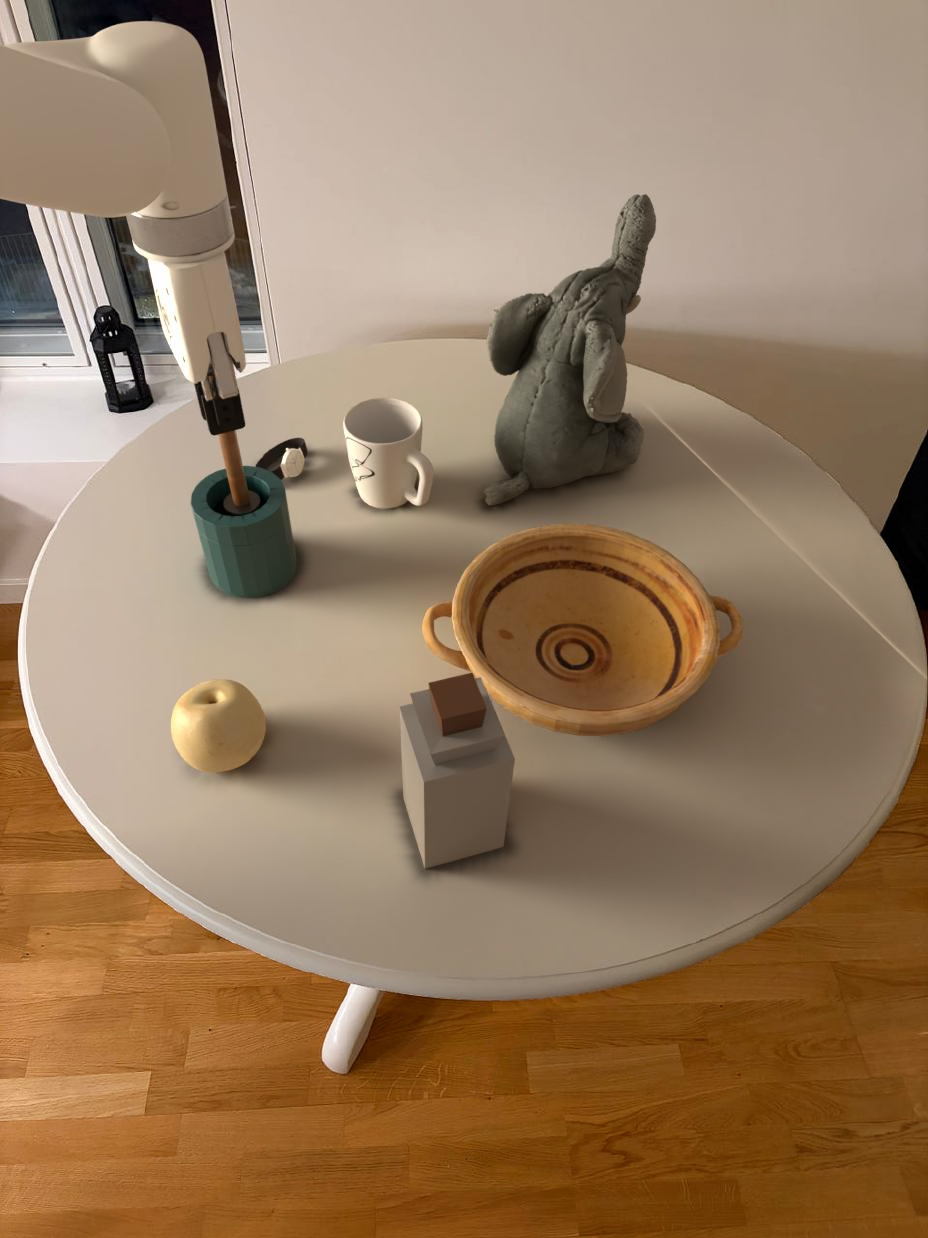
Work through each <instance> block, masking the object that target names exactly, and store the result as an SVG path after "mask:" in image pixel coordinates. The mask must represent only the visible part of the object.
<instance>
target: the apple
mask: <svg viewBox="0 0 928 1238" xmlns="http://www.w3.org/2000/svg"><path fill="white" fill-rule="evenodd" d="M266 729H267V720H266V716H265V712H264V709H263V707H262V705H261V703H260V702H259V700H258V699H257V697H256V696H255V695H254V693H252V692H251V691H250V689H248V687H246V686H245V685H244V684H242V683H241V682H238V681H235V680H231V679H225V678H219V679H209V680H206V681H204V682H200V683H199V684H197V685H195V686H192V688H190V689H189V690H187V691H186V692H185V693H184V694H182V695H181V697H180V698H179V699H178V700H177V702H176V703H175V705H174V707H173V710H172V714H171V719H170V734H171V738H172V742H173V744H174V747H175V749H176V750H177V752H178V754H179V755H180V756H181V758H182V760H184V761H185V762H186V763H187V764H188V765H189V766H191V767H192V768H194V769H196V770H198V771H201V772H204V773H222V772H228V771H232V770H234V769H237V768H240V767H242V766H244V765H245V764H247V763H248V762H249V761H250V760H252V759H253V758H254V756H256V754H257V753H258V751H259V750H260V748H261V746H262V745H263V742H264V739H265V737H266V732H267V731H266Z"/></svg>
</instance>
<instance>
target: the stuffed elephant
mask: <svg viewBox="0 0 928 1238" xmlns="http://www.w3.org/2000/svg"><path fill="white" fill-rule="evenodd" d="M656 229H657V215H656V213H655V208H654V204H653V203H652V200H651V197H649V195H648V194H647V193H645V194H644V193H643V194H641V195H640V194H633V195H632V196H630V198H628V200H627V201H626V202H625V204H624V205H623V207H622V208H621V209H620V212H619V213H618V216H617V219H616V221H615V229H614V238H613V241H612V247H611V256H610V257H609V258H607V259H605V261H603V262H602V263H601V264H600V265H599V266H596V267H595V266H594V267H590V268H585V269H584V270H583V269H581V270H578V271H575V272H573V273H571V274H569V275H568V276H566V277H564V278H563V279H562V280H561V281H560V282H559V283H557V285H556V286H555V287H553V289H552V290H551V292H549V293H548V294H547V295H546V294H545V293H543V292H542V293H541V292H540V293H539V292H538V293H537V292H534V293H531V292H530V293H529V292H527V293H525V294H524V295H521V296H517V297H515V298H512V299H511V300H508V301H506V302H505V303H504V304H503V305H502V306H500V307H499V309H498V310H495V312H494V313H495V314H494V315H493V317H492V319H491V322H490V324H489V328H488V334H487V335H486V350H487V356H488V359H489V361H490V365H491V367H492V369H493V371H494V372H495V373H497V374H499V375H500V376H503V377H507V376H512V375H514V374H516V373H517V374H516V376H515V378H514V380H513V381H512V383H511V386H510V388H509V390H508V393H507V394H506V396H505V398H504V400H503V401H504V402H503V404H502V406H501V408H500V410H499V411H498V414H497V417H496V421H495V428H494V440H493V441H494V448H495V452H496V455H497V458H498V460H499V461H500V464H501V466H502V467H503V470H504V471H505V474H507V476H508V477H509V479H500V480H497V481H495V482H493V483H491V484H490V485H488V486H486V487H485V488H484V490H483V494H484V495H485V500H484V501H485V503H486V504H487V505H488V506H496V505H500V504H503V503H505V502H507V501H510V500H512V499H515V498H516V497H518V496H520V495H521V494H523V493H524V492H525V491H526V490H528V489H529V488H531V489H548V488H549V489H550V488H556V487H559V486H562V485H566V484H569V483H572V482H575V481H577V480H580V479H582V478H584V477H591V476H598V475H605V474H613V473H616V472H618V471H622V470H624V469H627V468H628V467H630V466H632V465H633V464H635V463H637V462H638V460H639V456H640V455H641V452H642V445H643V444H644V440H645V439H644V438H645V431H644V430H645V428H644V427H643V426H642V424H641V423H640V422H639V420H638V419H637V418H635V417H634V416H633V415H632V413H627V412H623V408H624V407H625V401H626V395H627V389H628V388H627V386H628V368H627V362H626V361H627V360H626V356H625V355H626V354H625V351H624V348H623V343H624V341H625V338H626V337H625V336H626V327H627V326H626V323H627V322H626V321H627V315H628V314H630V313H633V311H634V310H635V309H637V308H638V306H639V305H640V303H641V301H642V298H641V295H639V294H638V291H639V289H640V288H641V287H640V286H641V284H642V277H643V273H644V268H645V266H646V260H647V259H646V257H647V253H648V250H649V245H650V243H651V241H652V239H653V238H654V236H655V233H656Z"/></svg>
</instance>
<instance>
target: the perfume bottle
mask: <svg viewBox="0 0 928 1238" xmlns="http://www.w3.org/2000/svg"><path fill="white" fill-rule="evenodd" d="M427 684H428V689H423V690H419V691H415V692H411V693H409V695H410V698H411V701H412V703H409V704H405V705H401V706H398V707H399V709H398V710H399V727H400V728H399V729H400V732H399V733H400V753H401V773H402V795H403V796H402V797H403V802H404V805H405V808H406V811H407V814H408V818H409V821H410V825H411V828H412V832H413V834H414V838H415V841H416V844H417V847H418V851H419V854H420V857H421V861H422V865H423V867H424V869H425V870H426V869H429V868H433V867H436V866H439V865H443V864H447V863H451V862H454V861H457V860H461V859H466V858H469V857H472V856H476V855H480V854H483V853H487V852H490V851H494V850H497V849H502V848H504V846H505V839H506V830H507V823H508V817H509V816H508V815H509V806H510V799H511V791H512V784H513V776H514V770H515V769H514V768H515V761H516V758H515V755H514V753H513V751H512V748H511V746H510V744H509V741H508V738H507V736H506V734H505V732H504V729H503V727H502V724H501V721H500V720H499V716H498V713H497V711H496V709H495V707H494V704H493V702H492V700H491V696H490V694H489V693H488V692H487V690H486V687H485V686H484V684H483V681H482V679H481V677H479V678H476V677H475V676H474V674H473V673H472V672H469V673H465V674H461V675H456V676H451V677H447V678H443V679H439V680H433V681H430V682H428V683H427Z"/></svg>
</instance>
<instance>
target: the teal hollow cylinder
mask: <svg viewBox="0 0 928 1238" xmlns="http://www.w3.org/2000/svg"><path fill="white" fill-rule="evenodd" d="M243 469H244V474H245V479H246V484H247V488H248V490H250V491H253V492H255V493H257V494H258V495H259V497H260V500H261V506H262V508H261V509H259V510H257V511H255V512H253V513H250V514H247V515H243V516H234V517H232V516H226V515H225V511H224V506H223V502H224V499H225V498H226V496H227V495H229V494H230V493H231V490H230V485H229V481H228V476H227V472H226V468H223V469H219V470H216V471H214V472H212V473H210V474H208V475H206V476H205V477H204V478H203V479H202V480H200V481H199V482H198V483H197V484H196V485H195V487H194V489H193V490H192V492H191V496H190V507H191V511H192V513H193V518H194V522H195V525H196V529H197V533H198V538H199V541H200V544H201V548H202V552H203V555H204V556H203V557H204V559H205V563H206V567H207V571H208V574H209V577H210V580H211V581H212V583H213V585H214V586H215V588H217V589H218V590H219V591H220V592H222V593H224V594H226V595H228V596H231V597H235V598H241V599H255V598H262V597H264V596H268V595H271V594H273V593H275V592H277V591H279V590H280V589H282V588H284V587H285V586H286V585H287V584H288V583H290V581H291V580H292V578H293V577H294V575H295V573H296V570H297V556H296V555H297V554H296V548H295V542H294V536H293V529H292V523H291V518H290V516H291V515H290V511H289V504H288V498H287V492H286V487H285V485H284V483H283V481H282V480H281V479H280V478H278V477H277V476H276V475H275V474H273V473H272V472H270V470H267V469H266V470H265V469H262V468H260V467H256V466H252V465H243Z"/></svg>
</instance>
